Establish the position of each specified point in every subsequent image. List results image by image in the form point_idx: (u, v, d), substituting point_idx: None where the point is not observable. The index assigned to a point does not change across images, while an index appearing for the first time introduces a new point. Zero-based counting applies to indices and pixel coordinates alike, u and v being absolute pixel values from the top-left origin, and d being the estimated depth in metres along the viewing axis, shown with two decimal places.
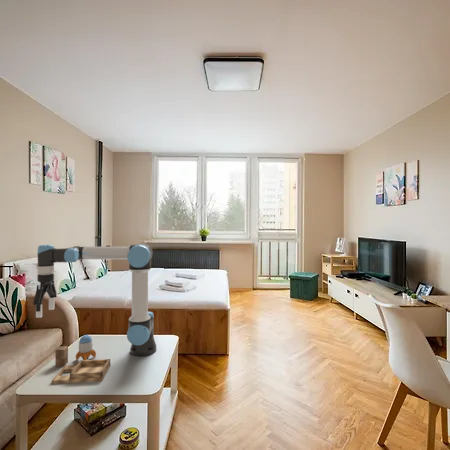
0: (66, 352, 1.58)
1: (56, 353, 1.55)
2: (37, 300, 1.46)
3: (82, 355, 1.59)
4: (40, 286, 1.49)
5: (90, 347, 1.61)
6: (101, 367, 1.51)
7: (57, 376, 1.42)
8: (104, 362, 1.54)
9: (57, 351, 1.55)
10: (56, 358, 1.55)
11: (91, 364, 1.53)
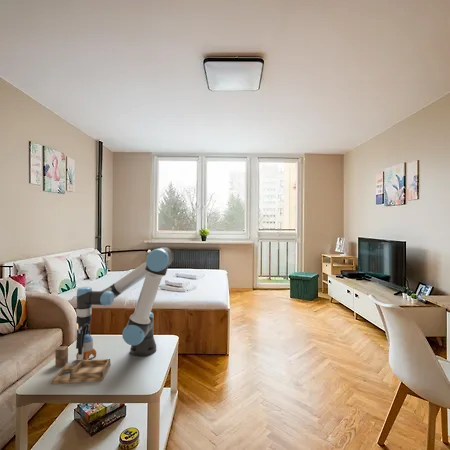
0: (66, 352, 1.58)
1: (56, 353, 1.55)
2: (79, 344, 1.55)
3: None
4: (80, 331, 1.56)
5: (91, 346, 1.62)
6: (101, 367, 1.51)
7: (57, 376, 1.42)
8: (104, 362, 1.54)
9: (57, 351, 1.55)
10: (56, 358, 1.55)
11: (91, 364, 1.53)
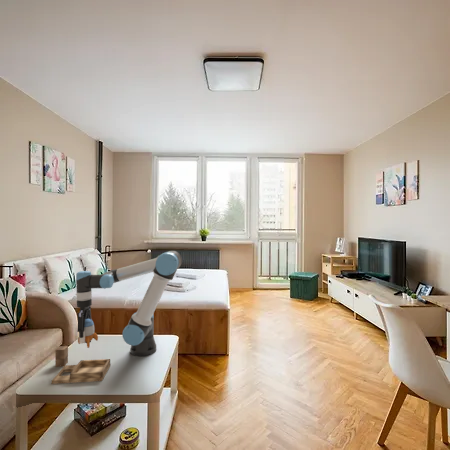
0: (66, 352, 1.58)
1: (56, 353, 1.55)
2: (80, 328, 1.55)
3: (85, 338, 1.60)
4: (81, 314, 1.56)
5: (92, 330, 1.62)
6: (101, 367, 1.51)
7: (57, 376, 1.42)
8: (104, 362, 1.54)
9: (57, 351, 1.55)
10: (56, 358, 1.55)
11: (91, 364, 1.53)
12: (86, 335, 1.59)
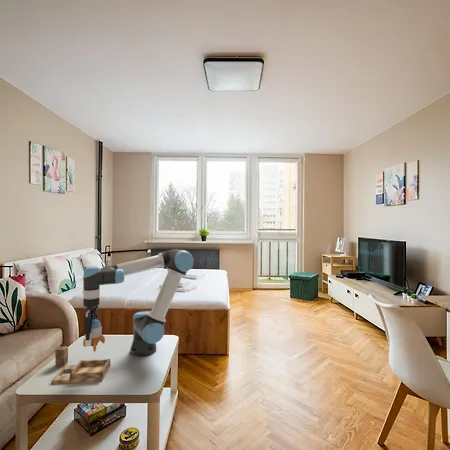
0: (66, 352, 1.58)
1: (56, 353, 1.55)
2: (87, 329, 1.40)
3: (91, 341, 1.45)
4: (88, 314, 1.41)
5: (99, 332, 1.47)
6: (101, 367, 1.51)
7: (57, 376, 1.42)
8: (104, 362, 1.54)
9: (57, 351, 1.55)
10: (56, 358, 1.55)
11: (91, 364, 1.53)
12: (92, 337, 1.45)
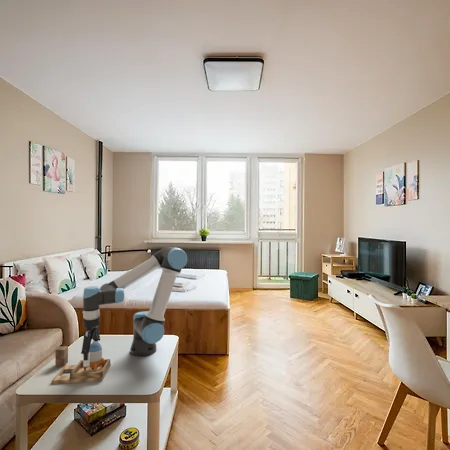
0: (66, 352, 1.58)
1: (56, 353, 1.55)
2: (85, 349, 1.38)
3: (91, 364, 1.45)
4: (87, 333, 1.41)
5: (100, 355, 1.47)
6: (101, 367, 1.51)
7: (57, 376, 1.42)
8: None
9: (57, 351, 1.55)
10: (56, 358, 1.55)
11: None
12: (93, 361, 1.45)
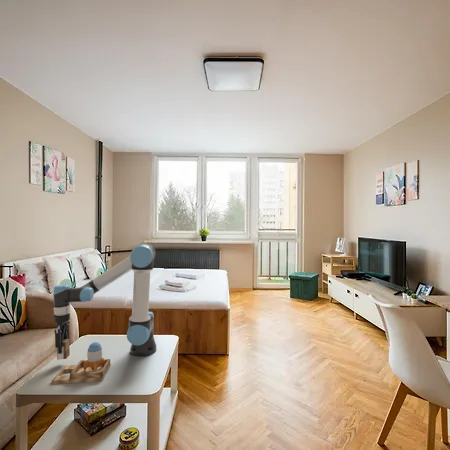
0: (67, 345, 1.58)
1: None
2: (58, 344, 1.51)
3: (91, 364, 1.45)
4: (58, 331, 1.51)
5: (100, 355, 1.47)
6: (101, 367, 1.51)
7: (57, 376, 1.42)
8: None
9: None
10: None
11: None
12: (93, 361, 1.45)
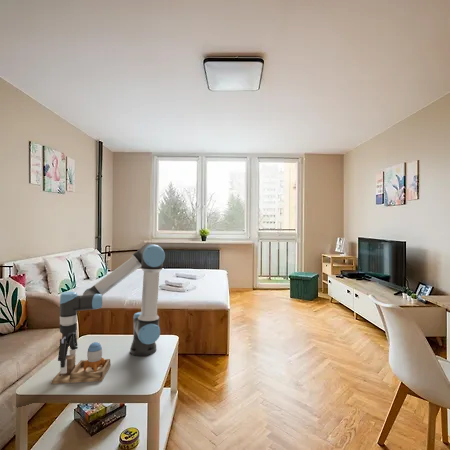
0: (73, 362, 1.47)
1: None
2: (62, 356, 1.38)
3: (91, 364, 1.45)
4: (63, 340, 1.39)
5: (100, 355, 1.47)
6: (101, 367, 1.51)
7: (57, 376, 1.42)
8: None
9: None
10: None
11: None
12: (93, 361, 1.45)
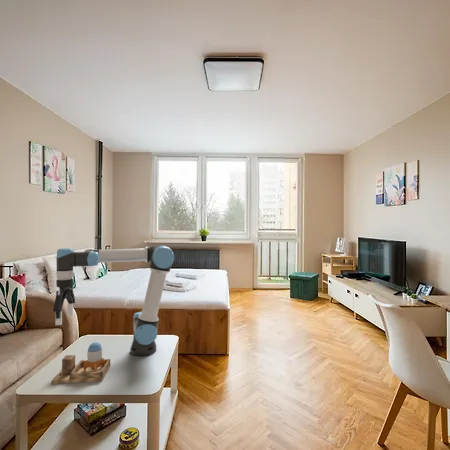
0: (73, 362, 1.47)
1: (63, 363, 1.44)
2: (57, 307, 1.39)
3: (91, 364, 1.45)
4: (60, 292, 1.42)
5: (100, 355, 1.47)
6: (101, 367, 1.51)
7: (57, 376, 1.42)
8: None
9: (64, 361, 1.44)
10: (63, 368, 1.44)
11: None
12: (93, 361, 1.45)
